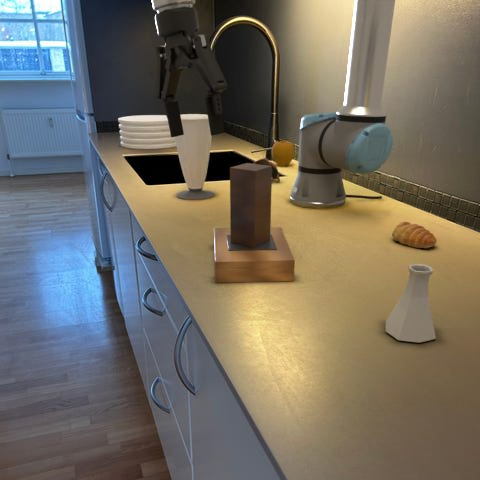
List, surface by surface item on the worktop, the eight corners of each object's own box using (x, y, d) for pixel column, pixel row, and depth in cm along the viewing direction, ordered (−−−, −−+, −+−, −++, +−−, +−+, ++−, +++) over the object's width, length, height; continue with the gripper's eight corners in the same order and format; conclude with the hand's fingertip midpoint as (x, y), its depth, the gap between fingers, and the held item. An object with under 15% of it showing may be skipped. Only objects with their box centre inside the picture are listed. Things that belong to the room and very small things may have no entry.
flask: (377, 321, 77) (385, 259, 73) (423, 319, 78) (435, 257, 73) (394, 345, 71) (404, 278, 66) (444, 343, 71) (458, 276, 67)
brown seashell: (282, 186, 162) (270, 164, 157) (255, 198, 165) (243, 177, 160) (282, 169, 170) (271, 148, 166) (257, 181, 174) (246, 160, 169)
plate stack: (111, 148, 229) (108, 120, 223) (133, 139, 253) (131, 114, 248) (171, 149, 224) (170, 121, 219) (188, 140, 249) (186, 115, 244)
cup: (201, 202, 142) (198, 119, 132) (168, 197, 147) (162, 116, 137) (222, 193, 151) (221, 115, 141) (190, 189, 156) (187, 113, 146)
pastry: (443, 246, 108) (446, 229, 106) (421, 252, 105) (424, 234, 103) (409, 235, 115) (411, 218, 113) (387, 240, 112) (389, 223, 110)
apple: (272, 163, 195) (272, 138, 191) (294, 163, 194) (295, 139, 190) (270, 167, 188) (270, 142, 184) (293, 167, 187) (294, 142, 183)
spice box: (230, 242, 97) (229, 167, 91) (246, 235, 101) (247, 162, 95) (254, 248, 95) (255, 170, 88) (270, 240, 99) (272, 166, 92)
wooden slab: (279, 245, 109) (280, 225, 107) (293, 281, 91) (294, 259, 90) (214, 246, 109) (214, 227, 107) (215, 282, 91) (215, 260, 89)
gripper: (123, 24, 98) (147, 140, 107) (198, -6, 79) (220, 137, 88) (156, 21, 102) (177, 133, 111) (235, -8, 84) (253, 129, 92)
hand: (196, 135), depth 100 cm, fingers open, 13 cm apart
